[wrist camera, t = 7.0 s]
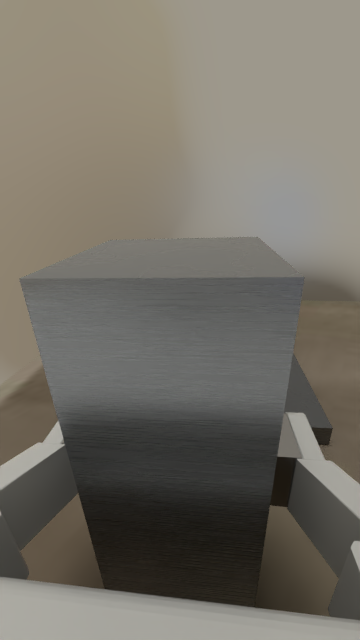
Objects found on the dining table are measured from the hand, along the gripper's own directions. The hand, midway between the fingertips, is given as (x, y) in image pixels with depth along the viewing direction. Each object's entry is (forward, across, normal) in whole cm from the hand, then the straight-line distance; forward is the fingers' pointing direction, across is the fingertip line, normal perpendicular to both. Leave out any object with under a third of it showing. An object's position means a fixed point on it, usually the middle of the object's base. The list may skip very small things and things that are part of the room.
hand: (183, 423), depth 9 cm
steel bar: (-1, 0, +6) cm, 7 cm away
